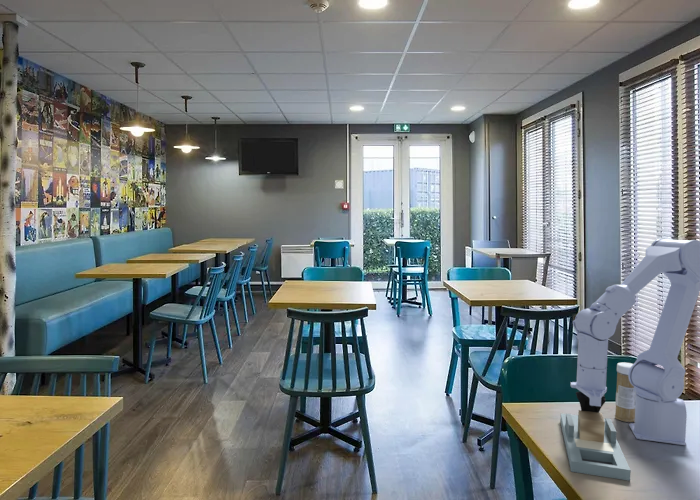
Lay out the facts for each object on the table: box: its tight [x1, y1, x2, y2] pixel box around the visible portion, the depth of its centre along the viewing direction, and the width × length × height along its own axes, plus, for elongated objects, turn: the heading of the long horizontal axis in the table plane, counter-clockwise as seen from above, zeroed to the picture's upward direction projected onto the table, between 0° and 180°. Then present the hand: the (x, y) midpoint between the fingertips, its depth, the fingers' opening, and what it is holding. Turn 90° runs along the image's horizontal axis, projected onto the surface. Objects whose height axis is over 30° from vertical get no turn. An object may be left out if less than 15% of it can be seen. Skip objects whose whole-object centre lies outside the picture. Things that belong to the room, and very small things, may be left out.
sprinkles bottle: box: [614, 361, 636, 423], centre depth 121 cm, size 5×5×13 cm
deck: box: [560, 412, 631, 481], centre depth 105 cm, size 10×25×4 cm, turn 162°
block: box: [577, 409, 605, 443], centre depth 106 cm, size 4×4×4 cm
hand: (589, 427), depth 109 cm, fingers closed, pressing on block
